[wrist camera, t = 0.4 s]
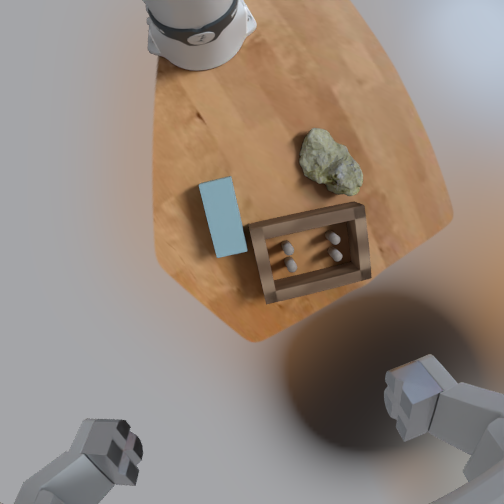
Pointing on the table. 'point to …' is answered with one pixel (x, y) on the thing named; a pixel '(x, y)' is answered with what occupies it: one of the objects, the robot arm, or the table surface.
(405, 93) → the table surface
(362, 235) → the frame
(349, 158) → the rock
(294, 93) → the table surface
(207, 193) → the light blue rectangular block
